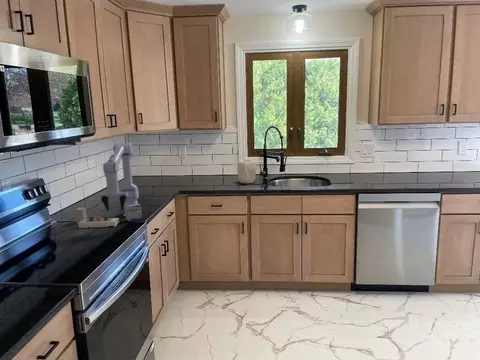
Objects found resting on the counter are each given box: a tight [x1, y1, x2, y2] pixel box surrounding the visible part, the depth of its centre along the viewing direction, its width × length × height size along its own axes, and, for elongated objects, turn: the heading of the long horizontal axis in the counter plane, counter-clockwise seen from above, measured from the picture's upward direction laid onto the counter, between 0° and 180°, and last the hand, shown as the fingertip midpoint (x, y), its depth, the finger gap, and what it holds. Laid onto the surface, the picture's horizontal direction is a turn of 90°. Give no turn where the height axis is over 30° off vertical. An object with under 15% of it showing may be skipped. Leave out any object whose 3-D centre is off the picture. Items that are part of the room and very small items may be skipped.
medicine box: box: [124, 203, 143, 222], centre depth 216 cm, size 8×4×9 cm, turn 126°
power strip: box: [77, 217, 120, 229], centre depth 208 cm, size 7×20×3 cm, turn 91°
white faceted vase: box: [236, 159, 257, 184], centre depth 314 cm, size 16×27×19 cm, turn 169°
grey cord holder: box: [74, 207, 88, 225], centre depth 215 cm, size 5×4×8 cm
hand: (115, 209), depth 199 cm, fingers open, 7 cm apart
